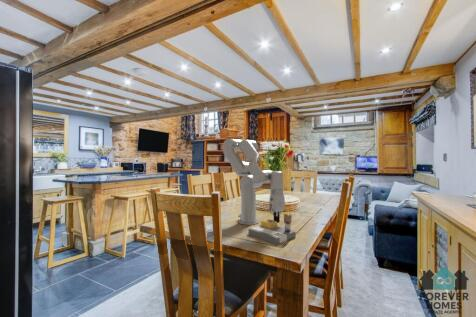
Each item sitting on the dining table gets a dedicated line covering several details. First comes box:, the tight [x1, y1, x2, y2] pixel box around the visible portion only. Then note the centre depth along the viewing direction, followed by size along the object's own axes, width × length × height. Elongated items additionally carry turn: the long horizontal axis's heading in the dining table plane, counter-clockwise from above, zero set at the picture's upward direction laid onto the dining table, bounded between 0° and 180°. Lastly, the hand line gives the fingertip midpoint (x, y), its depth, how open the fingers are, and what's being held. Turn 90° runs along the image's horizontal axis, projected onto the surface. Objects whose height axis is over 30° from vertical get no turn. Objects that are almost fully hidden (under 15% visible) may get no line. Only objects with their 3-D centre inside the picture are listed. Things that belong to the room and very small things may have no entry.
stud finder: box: [260, 218, 278, 229], centre depth 133 cm, size 7×6×3 cm
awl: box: [283, 213, 293, 232], centre depth 124 cm, size 4×4×9 cm
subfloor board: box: [247, 224, 297, 245], centre depth 126 cm, size 20×16×3 cm
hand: (276, 222), depth 137 cm, fingers closed
